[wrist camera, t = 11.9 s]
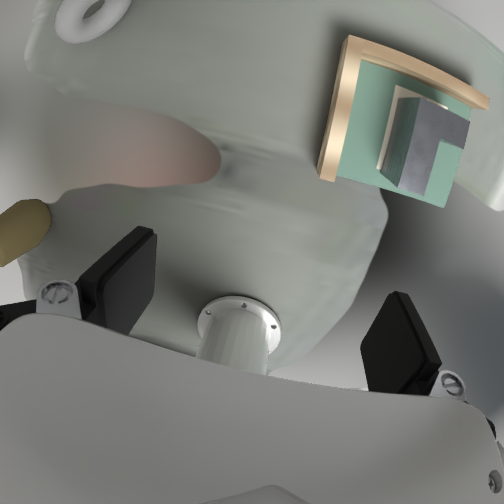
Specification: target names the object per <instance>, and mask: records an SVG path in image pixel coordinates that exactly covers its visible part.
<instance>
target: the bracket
mask: <svg viewBox="0 0 504 504" xmlns="http://www.w3.org/2000/svg"><path fill="white" fill-rule="evenodd" d="M469 124H470V121H468V120H466V119H464V118H463V117H461V116H459V115H457V114H455V113H453V112H451V111H449V110H447V109H445V108H443V107H441V106H439V105H437V104H434V103H432V102H430V101H428V100H426V99H423V98H421V97H408V98H398V102H397V107H396V111H395V116H394V120H393V125H392V129H391V133H390V137H389V141H388V145H387V149H386V153H385V157H384V160H383V164H382V168H381V171H380V174H382V175H383V176H384V177H385V178H386V179H388V180H389V181H390V182H391V183H392V184H394V185H395V186H396V187H397V188H399V189H402V190H405V191H408V192H411V193H414V194H417V195H420V196H424V193H425V190H426V187H427V184H428V181H429V178H430V174H431V171H432V168H433V164H434V161H435V157H436V153H437V150H438V146H439V142H440V141H441V142H444V143H447V144H450V145H453V146H456V147H458V148H461V149H464V146H465V142H466V137H467V133H468V129H469Z"/></svg>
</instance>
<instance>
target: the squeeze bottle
mask: <svg viewBox="0 0 504 504" xmlns="http://www.w3.org/2000/svg"><path fill="white" fill-rule="evenodd" d="M50 226H51V215H50V212H49V209H48V208H47V206H46V205H45V203H44V202H42V201H41V200H39V199H30V200H21V201H19V202H17V203H15V204H14V205H13V206H11V207H10V208H9V209H7V210H6V211H5V212H3V213H2V214H1V215H0V267H4V266H5V265H7V264H8V263H10V262H11V261H13V260H15V259H16V258H18V257H19V256H21V255H23V254H24V253H26V252H28V251H29V250H31V249H33V248H35V247H36V246H38V245H39V244H40V242H41V241H42V239H43V238H44V236H45V235H46V233H47V231H48V230H49V228H50Z"/></svg>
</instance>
